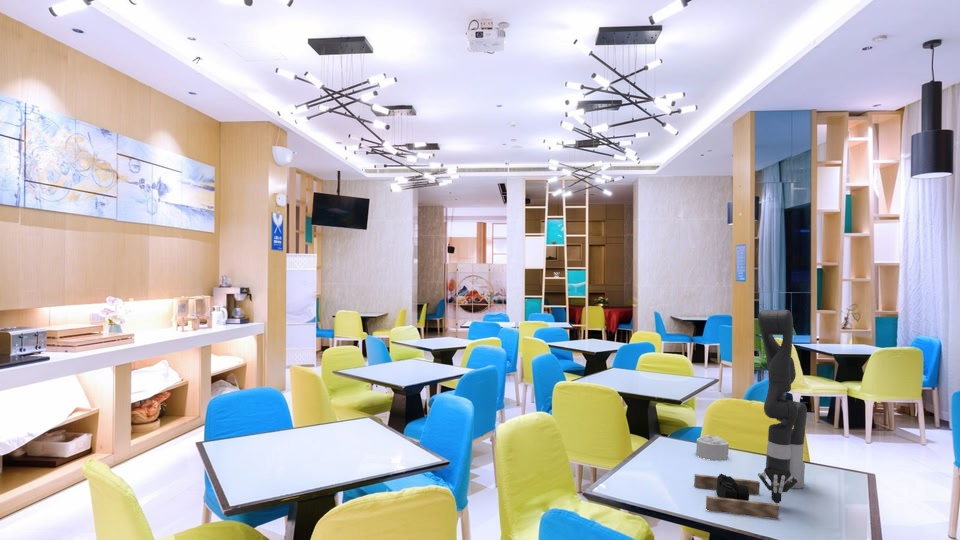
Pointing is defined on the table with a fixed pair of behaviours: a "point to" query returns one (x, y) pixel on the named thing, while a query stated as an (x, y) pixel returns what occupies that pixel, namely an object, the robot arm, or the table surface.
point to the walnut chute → (733, 504)
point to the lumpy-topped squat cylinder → (712, 448)
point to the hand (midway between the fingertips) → (776, 502)
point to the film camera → (731, 488)
